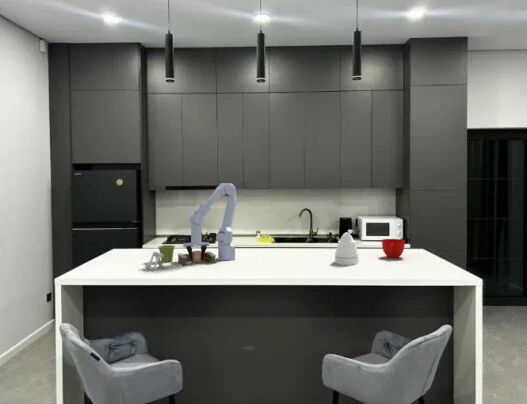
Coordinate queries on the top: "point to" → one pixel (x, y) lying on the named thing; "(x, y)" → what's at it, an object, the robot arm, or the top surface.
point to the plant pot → (167, 252)
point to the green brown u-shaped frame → (207, 256)
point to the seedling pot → (196, 256)
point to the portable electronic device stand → (158, 256)
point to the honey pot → (346, 250)
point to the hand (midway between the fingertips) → (196, 259)
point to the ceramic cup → (393, 247)
